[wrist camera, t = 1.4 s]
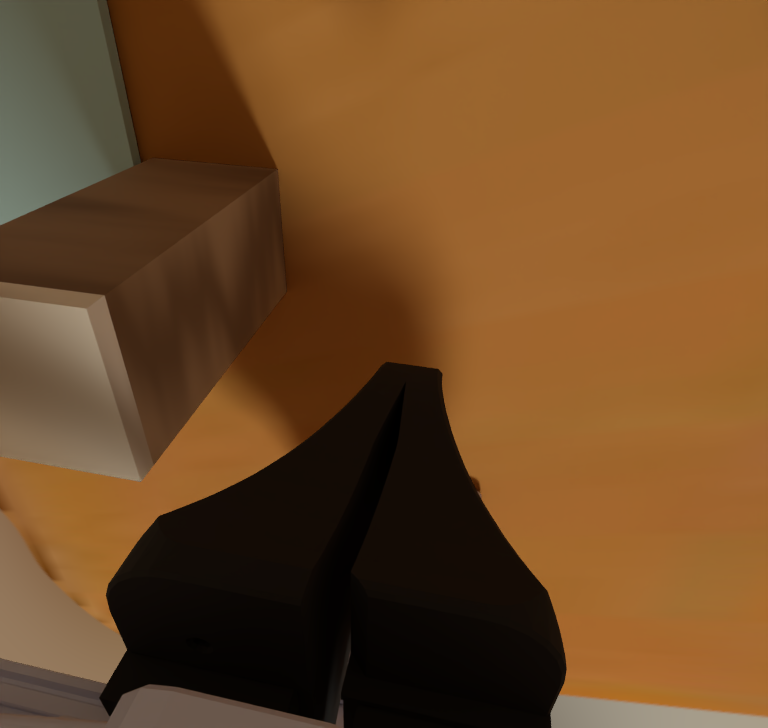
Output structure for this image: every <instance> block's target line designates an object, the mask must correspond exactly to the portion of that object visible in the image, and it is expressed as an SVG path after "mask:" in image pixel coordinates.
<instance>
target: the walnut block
mask: <svg viewBox="0 0 768 728" xmlns="http://www.w3.org/2000/svg"><path fill="white" fill-rule="evenodd" d="M286 292H287V287H286V274H285V261H284V247H283V234H282V221H281V208H280V194H279V181H278V169H271V168H260V167H248V166H237V165H226V164H215V163H204V162H193V161H182V160H171V159H159V158H151V159H149V160H146V161H144V162H142V163H140V164H137V165H135V166H133V167H131V168H128V169H126V170H124V171H122V172H119V173H117V174H115V175H113V176H110V177H108V178H106V179H104V180H101V181H99V182H97V183H95V184H92V185H90V186H88V187H86V188H83V189H81V190H79V191H77V192H74V193H72V194H70V195H67V196H65V197H63V198H61V199H58V200H56V201H54V202H52V203H49V204H47V205H45V206H43V207H40V208H38V209H36V210H34V211H31V212H29V213H27V214H25V215H22V216H20V217H18V218H16V219H13V220H11V221H9V222H7V223H4V224H2V225H0V456H1V457H7V458H12V459H18V460H23V461H29V462H34V463H40V464H45V465H51V466H56V467H62V468H67V469H73V470H79V471H84V472H90V473H95V474H101V475H106V476H112V477H117V478H123V479H128V480H134V481H139V482H141V481H142V480H143V478H144V477H145V476H146V475H147V473H148V472H149V471H150V469H151V468H152V467H153V465H154V464H155V463H156V462H157V460H158V459H159V458H160V456H161V455H162V454H163V452H164V451H165V450H166V448H167V447H168V446H169V445H170V443H171V442H172V441H173V439H174V438H175V437H176V435H177V434H178V433H179V431H180V430H181V429H182V428H183V426H184V425H185V424H186V422H187V421H188V420H189V418H190V417H191V416H192V415H193V413H194V412H195V411H196V409H197V408H198V407H199V405H200V404H201V403H202V401H203V400H204V399H205V398H206V396H207V395H208V394H209V392H210V391H211V390H212V388H213V387H214V386H215V384H216V383H217V382H218V381H219V379H220V378H221V377H222V375H223V374H224V373H225V371H226V370H227V369H228V368H229V366H230V365H231V364H232V362H233V361H234V360H235V358H236V357H237V356H238V354H239V353H240V352H241V351H242V349H243V348H244V347H245V345H246V344H247V343H248V341H249V340H250V339H251V338H252V336H253V335H254V334H255V332H256V331H257V330H258V328H259V327H260V326H261V324H262V323H263V322H264V321H265V319H266V318H267V317H268V315H269V314H270V313H271V311H272V310H273V309H274V307H275V306H276V305H277V304H278V302H279V301H280V300H281V298H282V297H283V296H284V294H285V293H286Z"/></svg>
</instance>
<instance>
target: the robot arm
mask: <svg viewBox="0 0 768 728" xmlns="http://www.w3.org/2000/svg"><path fill="white" fill-rule="evenodd" d="M106 597H107V601H108V605H109V609H110V612H111V615H112V617H113V619H114V621H115V623H116V626H117V628H118V630H119V632H120V635H121V637H122V639H123V641H124V643H125V646H126V648H127V651H126V653H125V654H124V656H123V658H122V660H121V661H120V663H119V665H118V666H117V668H116V670H115V671H114V673H113V675H112V676H111V678H110V680H109V682H108V683H107V684H105V683H101V682H96V681H93V680H88V679H84V678H80V677H75V676H71V675H67V674H63V673H59V672H54V671H51V670H46V669H42V668H38V667H34V666H30V665H26V664H22V663H17V662H13V661H9V660H5V659H1V658H0V728H551V717H550V713H551V710H552V708H553V706H554V704H555V702H556V699H557V697H558V695H559V693H560V691H561V688H562V686H563V684H564V681H565V676H566V670H567V669H566V659H565V653H564V648H563V642H562V638H561V633H560V629H559V626H558V622H557V619H556V615H555V612H554V609H553V606H552V603H551V600H550V597H549V594H548V592H547V590H546V589H545V588H544V587H543V585H542V584H541V583H540V582H539V581H538V580H537V578H536V577H535V576H534V575H533V574H532V572H531V571H530V570H529V569H528V567H527V566H526V565H525V564H524V562H523V561H522V560H521V559H520V557H519V556H518V555H517V553H516V552H515V550H514V549H513V548H512V546H511V545H510V544H509V542H508V541H507V539H506V538H505V537H504V535H503V534H502V532H501V530H500V529H499V527H498V526H497V524H496V522H495V521H494V519H493V518H492V516H491V515H490V513H489V511H488V510H487V508H486V507H485V505H484V503H483V501H482V500H481V494H480V492H478V491H477V490H476V488H475V487H474V485H473V482H472V480H471V478H470V476H469V474H468V472H467V470H466V468H465V465H464V463H463V461H462V458H461V456H460V453H459V451H458V448H457V445H456V443H455V440H454V437H453V434H452V431H451V427H450V424H449V420H448V416H447V413H446V408H445V404H444V398H443V392H442V373H441V372H440V370H439V369H434V368H427V367H420V366H413V365H405V364H398V363H391V362H386V363H385V364H383V365H382V366H381V367H380V368H379V370H378V371H377V372H376V373H375V375H374V376H373V377H372V378H371V379H370V380H369V382H368V383H367V384H366V385H365V386H364V387H363V388H362V389H361V390H360V391H359V392H358V394H357V395H356V396H355V397H354V398H353V399H352V400H351V401H350V402H349V403H348V404H347V405H346V406H345V407H344V408H343V409H342V410H341V411H339V412H338V413H337V414H336V415H335V416H334V417H333V418H332V419H330V420H329V421H328V422H327V423H326V424H325V425H324V426H323V427H321V428H320V429H319V430H318V431H317V432H315V433H314V434H313V435H312V436H310V437H309V438H308V439H307V440H305V441H304V442H303V443H301V444H300V445H299V446H297V447H296V448H294V449H293V450H292V451H290V452H289V453H287V454H286V455H284V456H283V457H281V458H280V459H278V460H277V461H275V462H273V463H272V464H270V465H269V466H267V467H265V468H264V469H262V470H260V471H259V472H257V473H255V474H254V475H252V476H250V477H248V478H246V479H244V480H242V481H240V482H238V483H236V484H235V485H232V486H230V487H228V488H226V489H224V490H222V491H220V492H218V493H216V494H213V495H211V496H209V497H207V498H204V499H202V500H199V501H197V502H194V503H192V504H189V505H187V506H184V507H182V508H179V509H177V510H174V511H171V512H169V513H166V514H163V515H160V516H159V517H158V518H157V519H156V520H155V522H154V523H153V524H152V525H151V526H150V527H149V529H148V530H147V531H146V532H145V533H144V534H143V536H142V537H141V538H140V540H139V541H138V542H137V544H136V545H135V546H134V548H133V549H132V551H131V552H130V554H129V555H128V557H127V558H126V559H125V561H124V562H123V564H122V565H121V567H120V568H119V570H118V571H117V573H116V574H115V576H114V577H113V578H112V580H111V581H110V583H109V584H108V588H107V593H106Z"/></svg>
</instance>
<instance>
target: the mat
mask: <svg viewBox="0 0 768 728" xmlns="http://www.w3.org/2000/svg"><path fill="white" fill-rule="evenodd" d="M140 163H141V160H140V155H139V151H138V146H137V141H136V137H135V132H134V127H133V123H132V118H131V113H130V109H129V104H128V99H127V94H126V90H125V85H124V80H123V76H122V71H121V66H120V62H119V57H118V52H117V47H116V43H115V38H114V33H113V29H112V24H111V19H110V15H109V10H108V5H107V1H106V0H0V225H2V224H4V223H7V222H9V221H11V220H13V219H16V218H18V217H20V216H22V215H25V214H27V213H29V212H31V211H34V210H36V209H38V208H40V207H43V206H45V205H47V204H49V203H52V202H54V201H56V200H58V199H61V198H63V197H65V196H67V195H70V194H72V193H74V192H77V191H79V190H81V189H83V188H86V187H88V186H90V185H92V184H95V183H97V182H99V181H101V180H104V179H106V178H108V177H110V176H113V175H115V174H117V173H119V172H122V171H124V170H126V169H128V168H131V167H133V166H135V165H137V164H140Z"/></svg>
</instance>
